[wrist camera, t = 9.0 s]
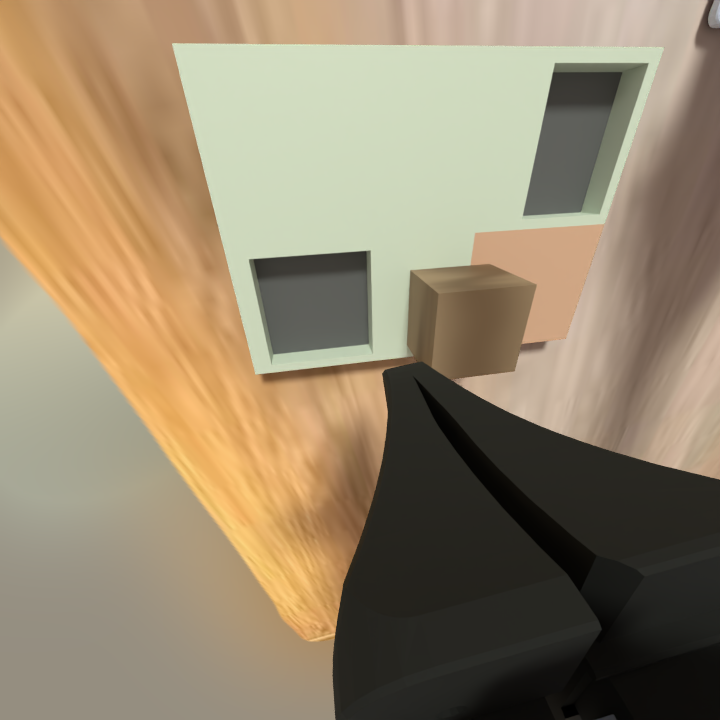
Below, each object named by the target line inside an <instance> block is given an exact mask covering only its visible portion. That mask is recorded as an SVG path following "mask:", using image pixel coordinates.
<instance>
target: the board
mask: <svg viewBox="0 0 720 720" xmlns="http://www.w3.org/2000/svg"><path fill="white" fill-rule="evenodd" d="M172 45H173V49H174V53H175V57H176V61H177V65H178V69H179V73H180V77H181V81H182V85H183V89H184V93H185V97H186V101H187V105H188V108H189V112H190V116H191V120H192V124H193V128H194V132H195V136H196V140H197V144H198V148H199V152H200V156H201V160H202V164H203V168H204V172H205V176H206V180H207V184H208V188H209V192H210V196H211V200H212V204H213V207H214V211H215V215H216V219H217V223H218V227H219V231H220V235H221V239H222V243H223V247H224V251H225V255H226V259H227V263H228V267H229V271H230V275H231V279H232V283H233V287H234V291H235V295H236V299H237V303H238V306H239V310H240V314H241V318H242V322H243V326H244V330H245V334H246V338H247V342H248V346H249V350H250V354H251V358H252V362H253V366H254V370H255V374H265V373H274V372H282V371H291V370H300V369H308V368H317V367H326V366H334V365H343V364H352V363H360V362H369V361H378V360H386V359H395V358H404V357H412V356H413V354H412V352H411V351H410V349H409V348H408V346H407V332H408V310H409V288H410V270H419V269H432V268H444V267H456V266H469V265H481V264H491V265H493V266H496V267H498V268H500V269H502V270H505V271H507V272H509V273H511V274H514V275H516V276H518V277H521V278H523V279H525V280H527V281H530V282H532V283H534V284H536V285H537V287H536V290H535V294H534V298H533V302H532V306H531V310H530V314H529V317H528V321H527V325H526V329H525V333H524V337H523V340H522V344H525V343H534V342H542V341H551V340H560V339H566V336H567V333H568V330H569V328H570V325H571V322H572V319H573V316H574V313H575V310H576V307H577V304H578V301H579V298H580V295H581V292H582V289H583V286H584V283H585V280H586V277H587V274H588V271H589V268H590V265H591V262H592V260H593V257H594V254H595V251H596V248H597V245H598V242H599V239H600V236H601V233H602V230H603V227H604V224H605V221H606V218H607V215H608V212H609V209H610V206H611V203H612V200H613V197H614V194H615V192H616V189H617V186H618V183H619V180H620V177H621V174H622V171H623V168H624V165H625V162H626V159H627V156H628V153H629V150H630V147H631V144H632V141H633V138H634V135H635V132H636V129H637V126H638V123H639V121H640V118H641V115H642V112H643V109H644V106H645V103H646V100H647V97H648V94H649V91H650V88H651V85H652V82H653V79H654V76H655V73H656V70H657V67H658V64H659V61H660V58H661V55H662V53H663V50H664V47H568V46H437V45H306V44H174V43H172Z"/></svg>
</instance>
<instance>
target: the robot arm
mask: <svg viewBox="0 0 720 720" xmlns="http://www.w3.org/2000/svg"><path fill="white" fill-rule="evenodd" d="M708 24H709V26H710V27H712V28H720V0H714V2H713V5H712V7H711V10H710V13H709V17H708ZM382 375H383V382H384V388H385V395H386V402H387V408H388V419H387V432H386V440H385V447H384V453H383V459H382V464H381V469H380V473H379V478H378V482H377V486H376V490H375V494H374V497H373V501H372V504H371V507H370V510H369V514H368V517H367V520H366V523H365V527H364V530H363V533H362V536H361V539H360V541H359V544H358V547H357V549H356V552H355V555H354V557H353V560H352V562H351V565H350V568H349V570H348V573H347V576H346V578H345V581H344V584H343V590H342V596H341V602H340V608H339V613H338V620H337V626H336V633H335V642H334V652H333V689H334V704H335V718H336V720H720V480H719V479H715V478H710V477H706V476H702V475H698V474H694V473H690V472H686V471H682V470H678V469H673V468H669V467H665V466H661V465H657V464H653V463H650V462H646V461H643V460H639V459H636V458H632V457H629V456H626V455H622V454H619V453H615V452H612V451H609V450H606V449H602V448H599V447H596V446H593V445H590V444H587V443H584V442H581V441H578V440H576V439H573V438H570V437H567V436H565V435H562V434H559V433H556V432H554V431H551V430H549V429H546V428H543V427H541V426H538V425H536V424H534V423H532V422H529V421H527V420H525V419H522V418H520V417H518V416H516V415H513V414H511V413H509V412H507V411H505V410H503V409H501V408H499V407H497V406H495V405H493V404H491V403H489V402H488V401H486V400H484V399H482V398H480V397H478V396H476V395H475V394H473V393H471V392H469V391H468V390H466V389H464V388H463V387H461V386H459V385H458V384H456V383H455V382H453V381H451V380H450V379H448V378H447V377H445V376H444V375H442V374H441V373H439V372H438V371H436V370H434V369H433V368H431V367H430V366H428V365H427V364H425V363H424V362H417V363H413V364H408V365H404V366H400V367H395V368H391V369H387V370H385V371H384V372H383V373H382Z"/></svg>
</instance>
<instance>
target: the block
mask: <svg viewBox="0 0 720 720" xmlns="http://www.w3.org/2000/svg"><path fill="white" fill-rule="evenodd" d="M536 287H537V285H536V284H534V283H532V282H530V281H527V280H525V279H523V278H521V277H518V276H516V275H514V274H511V273H509V272H507V271H505V270H502V269H500V268H498V267H496V266H493V265H491V264H481V265H469V266H456V267H444V268H432V269H419V270H410V288H409V310H408V332H407V346H408V348H409V349H410V351H411V352H412V354H413V356H414V357H415V359H416V360H417V362H424V363H425V364H427V365H428V366H430V367H431V368H433V369H434V370H436V371H438V372H439V373H441V374H442V375H444V376H445V377H447V378H448V379H457V378H465V377H473V376H481V375H489V374H497V373H505V372H513V371H515V367H516V364H517V360H518V356H519V352H520V348H521V344H522V340H523V337H524V333H525V329H526V325H527V321H528V317H529V314H530V310H531V306H532V302H533V298H534V294H535V290H536Z"/></svg>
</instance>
